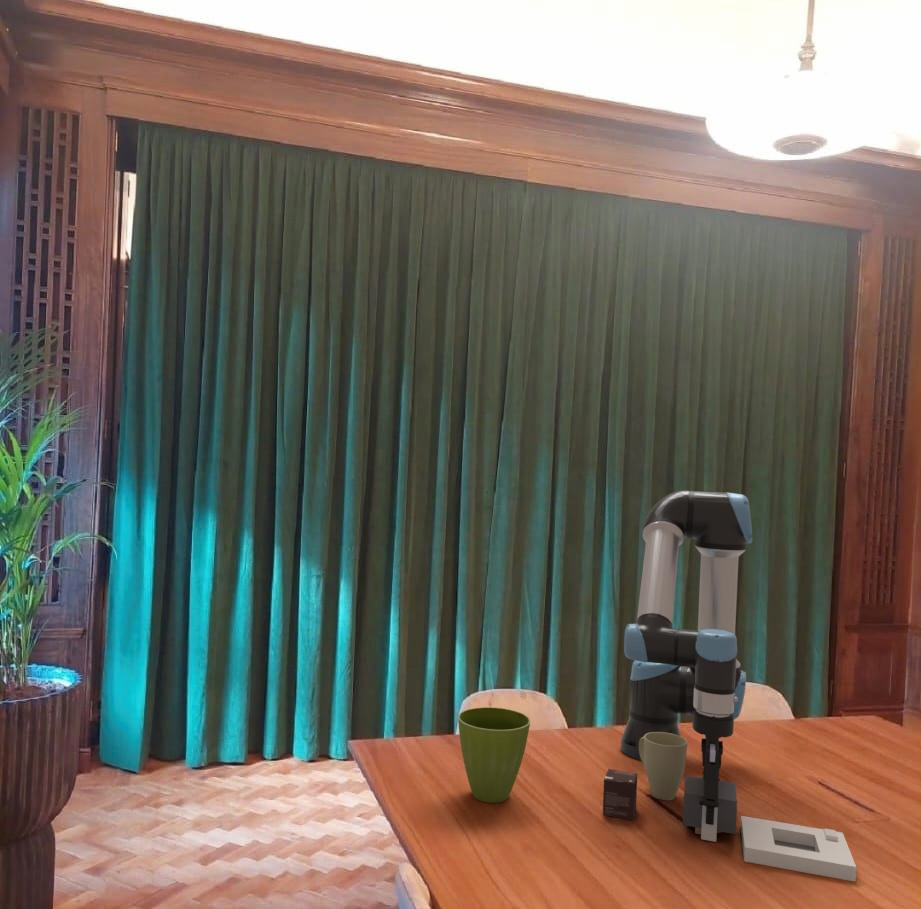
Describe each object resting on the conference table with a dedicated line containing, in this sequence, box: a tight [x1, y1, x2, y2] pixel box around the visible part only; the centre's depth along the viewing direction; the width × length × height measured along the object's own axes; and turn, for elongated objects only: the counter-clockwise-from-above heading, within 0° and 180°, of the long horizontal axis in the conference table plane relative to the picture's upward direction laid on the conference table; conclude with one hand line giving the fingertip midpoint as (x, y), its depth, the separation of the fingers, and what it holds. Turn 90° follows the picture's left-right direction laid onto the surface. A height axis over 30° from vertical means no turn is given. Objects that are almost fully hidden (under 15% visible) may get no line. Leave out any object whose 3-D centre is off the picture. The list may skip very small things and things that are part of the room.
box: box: [602, 768, 638, 821], centre depth 159 cm, size 6×6×7 cm
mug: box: [639, 732, 688, 801], centre depth 170 cm, size 11×10×12 cm
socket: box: [740, 815, 857, 882], centre depth 145 cm, size 18×14×3 cm
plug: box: [682, 775, 738, 835], centre depth 153 cm, size 10×10×8 cm
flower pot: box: [457, 706, 531, 804], centre depth 164 cm, size 15×15×16 cm
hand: (708, 828), depth 153 cm, fingers closed on plug, 9 cm apart
